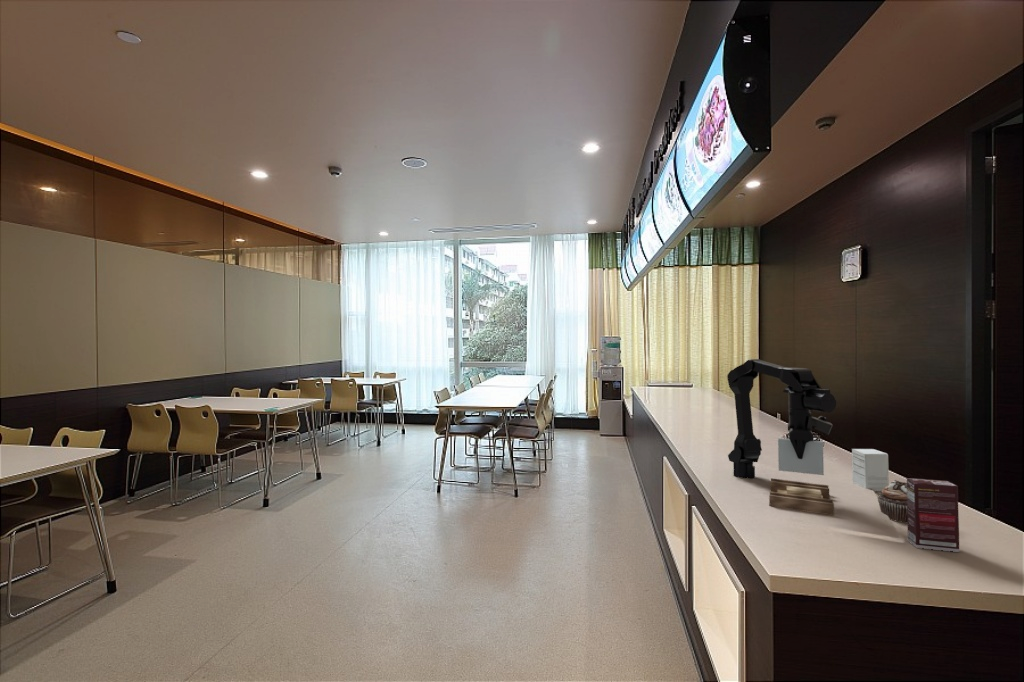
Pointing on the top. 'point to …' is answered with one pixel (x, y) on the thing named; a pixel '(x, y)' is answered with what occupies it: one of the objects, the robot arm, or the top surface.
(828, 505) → the rack
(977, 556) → the top surface
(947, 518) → the supplement box
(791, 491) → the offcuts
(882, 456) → the supplement box
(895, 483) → the cupcake
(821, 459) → the panel
